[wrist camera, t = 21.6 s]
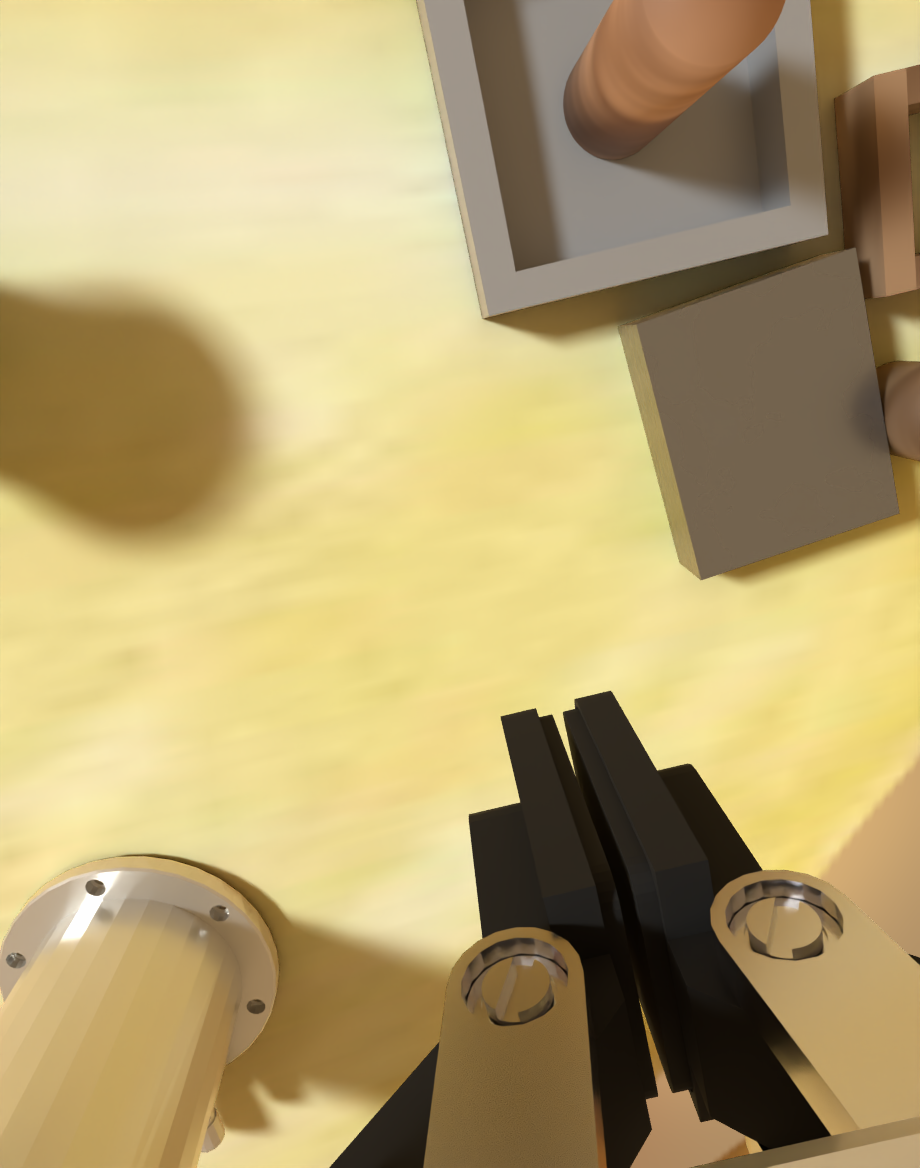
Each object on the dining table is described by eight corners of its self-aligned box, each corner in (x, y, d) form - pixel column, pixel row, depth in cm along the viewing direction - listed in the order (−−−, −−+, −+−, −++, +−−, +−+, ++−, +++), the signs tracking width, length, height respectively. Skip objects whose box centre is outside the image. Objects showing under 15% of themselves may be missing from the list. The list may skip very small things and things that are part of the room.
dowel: (679, 131, 28) (808, 24, 19) (586, 177, 28) (673, 92, 19) (642, 23, 27) (761, -142, 18) (547, 72, 27) (618, -69, 18)
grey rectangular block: (857, 498, 33) (899, 513, 30) (676, 559, 33) (701, 580, 30) (813, 256, 30) (855, 247, 27) (615, 326, 30) (636, 324, 27)
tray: (791, 244, 29) (828, 234, 27) (482, 318, 29) (489, 316, 27) (757, -139, 26) (795, -193, 23) (405, -52, 26) (404, -97, 23)
